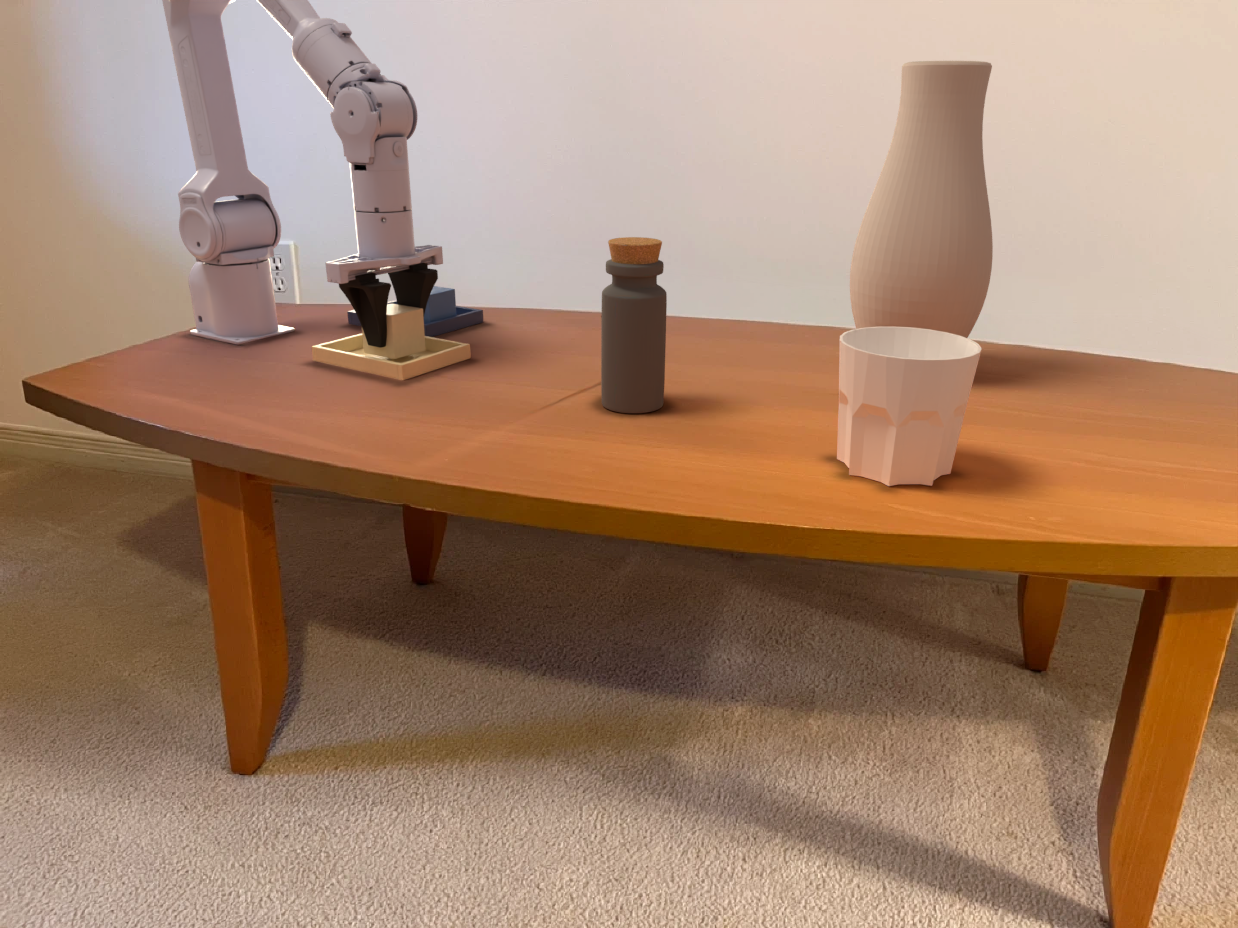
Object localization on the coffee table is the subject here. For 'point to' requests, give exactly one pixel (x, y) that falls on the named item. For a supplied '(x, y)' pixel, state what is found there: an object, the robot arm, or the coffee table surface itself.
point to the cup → (902, 401)
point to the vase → (929, 208)
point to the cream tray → (353, 357)
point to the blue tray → (435, 328)
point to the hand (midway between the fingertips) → (394, 340)
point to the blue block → (440, 304)
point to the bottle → (633, 327)
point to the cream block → (400, 332)
